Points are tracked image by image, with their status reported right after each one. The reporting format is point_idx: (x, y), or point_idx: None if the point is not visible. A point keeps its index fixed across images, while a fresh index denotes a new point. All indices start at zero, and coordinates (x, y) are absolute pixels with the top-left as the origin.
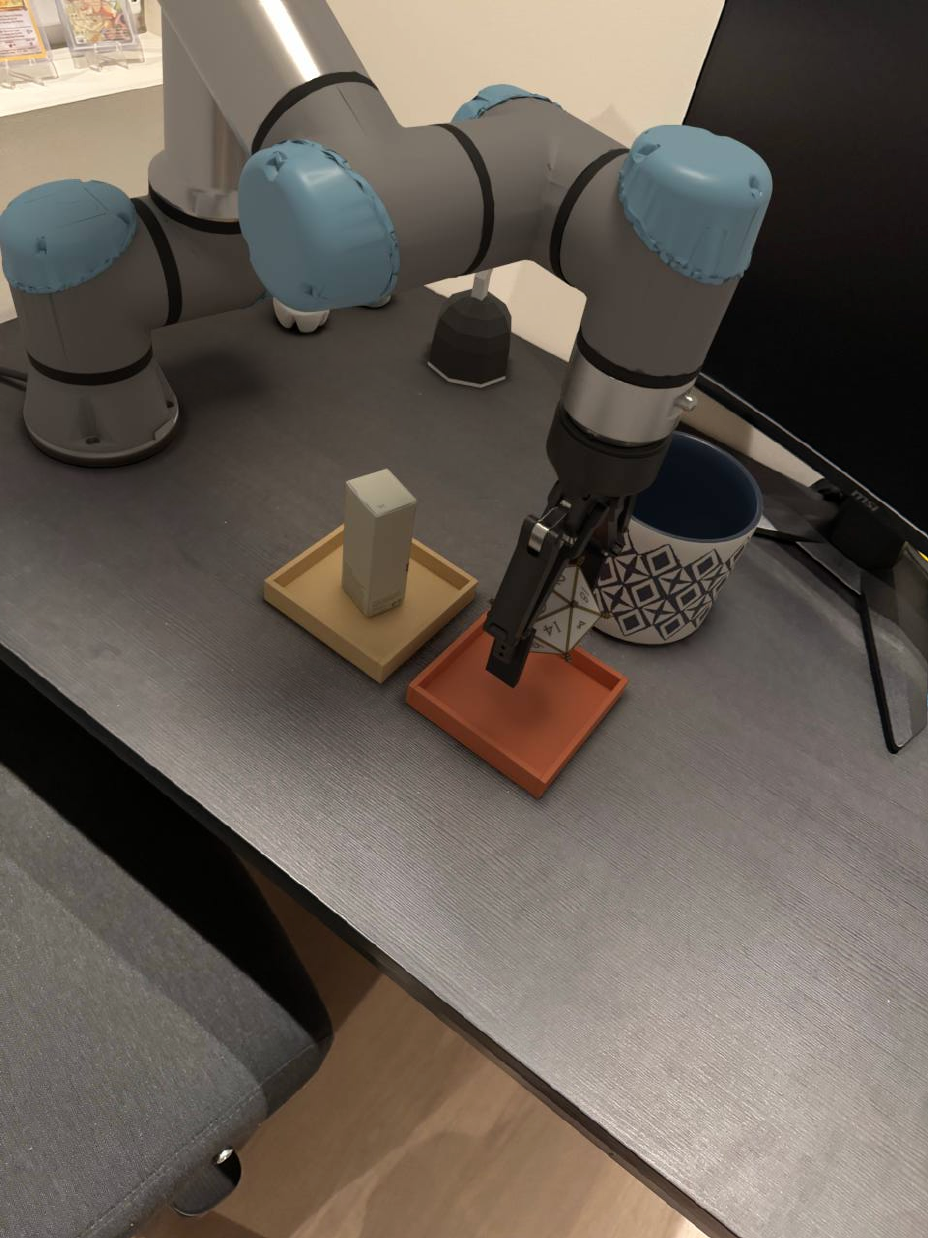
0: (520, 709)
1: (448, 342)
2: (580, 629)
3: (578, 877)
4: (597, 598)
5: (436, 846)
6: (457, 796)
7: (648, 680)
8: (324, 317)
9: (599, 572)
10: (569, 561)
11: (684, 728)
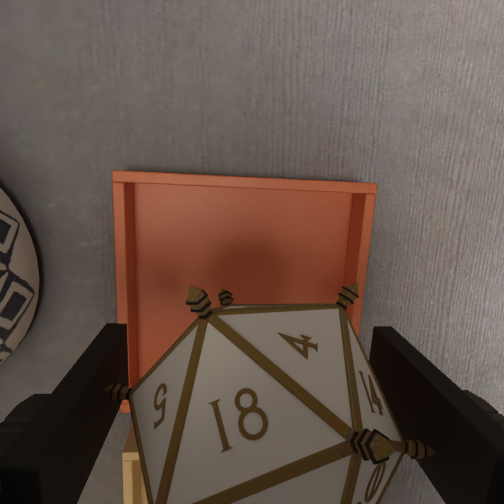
0: (259, 275)
1: None
2: (298, 331)
3: (427, 80)
4: (4, 305)
5: (479, 247)
6: (411, 265)
7: (62, 148)
8: None
9: (62, 414)
10: (83, 485)
11: (103, 52)
